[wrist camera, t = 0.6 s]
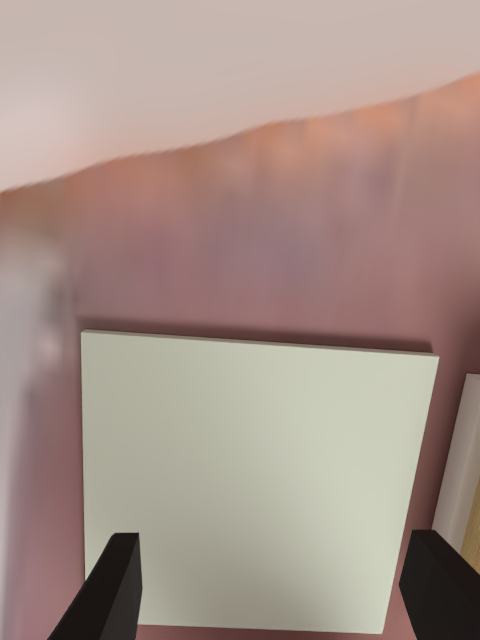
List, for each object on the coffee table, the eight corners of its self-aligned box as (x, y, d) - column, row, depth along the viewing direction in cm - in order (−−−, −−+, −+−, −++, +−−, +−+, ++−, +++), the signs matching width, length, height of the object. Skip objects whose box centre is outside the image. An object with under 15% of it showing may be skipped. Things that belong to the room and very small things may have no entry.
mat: (378, 624, 25) (382, 633, 24) (89, 612, 24) (86, 622, 23) (433, 353, 20) (439, 356, 20) (85, 329, 20) (81, 332, 19)
